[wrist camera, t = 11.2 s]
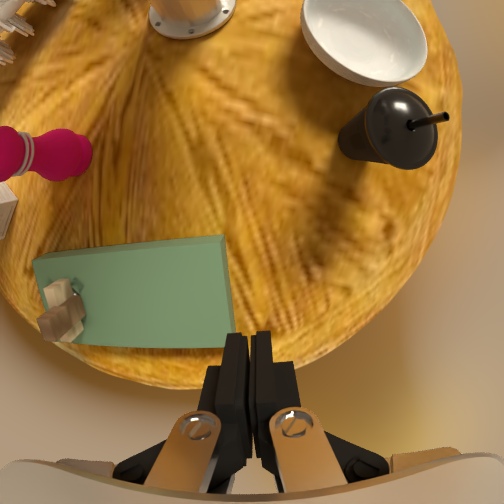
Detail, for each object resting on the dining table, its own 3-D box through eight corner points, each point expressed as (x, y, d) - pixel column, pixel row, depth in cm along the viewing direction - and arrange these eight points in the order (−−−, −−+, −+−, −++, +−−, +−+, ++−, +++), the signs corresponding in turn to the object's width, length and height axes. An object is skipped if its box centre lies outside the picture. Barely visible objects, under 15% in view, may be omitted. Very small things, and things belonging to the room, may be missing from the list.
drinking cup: (369, 180, 35) (467, 190, 16) (318, 154, 34) (386, 132, 15) (388, 131, 33) (488, 106, 14) (339, 104, 32) (414, 46, 13)
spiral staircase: (99, -17, 29) (16, 80, 32) (51, -42, 19) (-26, 50, 22) (86, -57, 14) (-28, 76, 18) (29, -77, 4) (-71, 43, 8)
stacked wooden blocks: (59, 278, 34) (25, 300, 26) (76, 278, 34) (42, 300, 26) (74, 328, 36) (46, 356, 28) (91, 329, 36) (63, 358, 28)
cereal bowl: (414, 101, 32) (440, 91, 25) (304, 95, 32) (314, 77, 25) (391, 8, 27) (409, -12, 21) (287, -3, 28) (292, -30, 21)
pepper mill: (103, 142, 34) (-1, 129, 15) (83, 187, 36) (-21, 205, 16) (70, 125, 33) (-29, 110, 14) (53, 168, 35) (-47, 177, 15)
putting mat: (47, 252, 38) (31, 260, 34) (224, 234, 37) (220, 242, 33) (69, 329, 42) (56, 341, 37) (235, 329, 41) (233, 346, 36)
